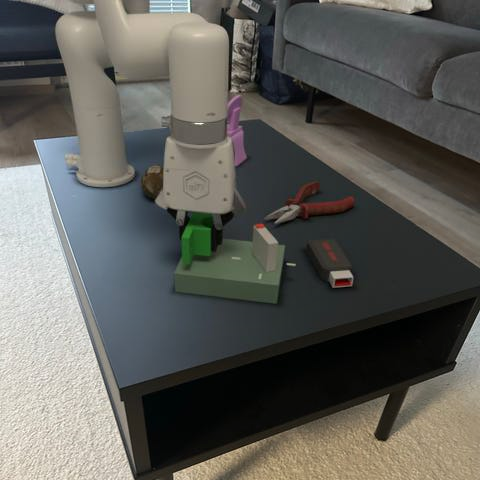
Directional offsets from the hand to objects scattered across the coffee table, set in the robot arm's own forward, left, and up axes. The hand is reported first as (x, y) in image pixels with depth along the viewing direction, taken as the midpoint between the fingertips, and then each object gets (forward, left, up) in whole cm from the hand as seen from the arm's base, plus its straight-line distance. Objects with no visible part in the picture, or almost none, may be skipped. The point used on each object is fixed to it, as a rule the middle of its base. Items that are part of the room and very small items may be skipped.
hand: (201, 245), depth 79 cm
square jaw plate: (+10, 0, -2) cm, 10 cm away
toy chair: (-5, +51, -5) cm, 51 cm away
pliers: (+15, +28, -5) cm, 32 cm away
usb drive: (+21, +6, -5) cm, 23 cm away
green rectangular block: (+6, 0, -5) cm, 8 cm away
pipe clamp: (0, 0, 0) cm, 0 cm away
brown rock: (-15, +28, -5) cm, 32 cm away
